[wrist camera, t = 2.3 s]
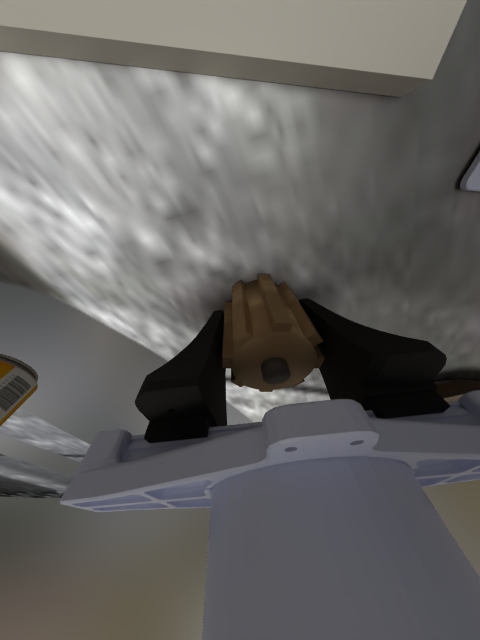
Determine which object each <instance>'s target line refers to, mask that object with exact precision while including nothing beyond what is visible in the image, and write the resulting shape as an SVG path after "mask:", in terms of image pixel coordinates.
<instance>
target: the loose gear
mask: <svg viewBox="0 0 480 640" xmlns="http://www.w3.org/2000/svg"><path fill="white" fill-rule="evenodd" d="M321 342H323V340H322V338H321V337H320V335H319V333H318V332H317V330H316V329H315V327H314V325H313V324H312V322H311V321H310V319H309V317H308V316H307V314H306V313H305V311H304V309H303V308H302V306H301V305H300V303H299V301H298V300H297V298H296V297H295V295H294V293H293V292H292V290H291V289H290V287H289V286H288V285H287V284H286V282H284V283H283V284H282V285H280V286H278V285H277V284H275V283H274V282H273V281H272V279H271V277H270V275H268V274H258V280H255V281H251V282H249V283H247V284H245V285H244V284H243V283H242V282H241V281H239V282H238V283H237V284H236V285H234V286H233V287H232V302H225V313H224V334H223V355H222V368H231V382H233V383H234V384H236V385H238V386H239V387H242V386H244V385H245V386H248V387H250V388H254V389H259V391H260V392H272V391H273V390H276V389H281V388H285V387H289V386H291V385H292V386H293V387H294V386H296V385H298V384H300V383H302V382H304V381H305V380H304V378H305V377H307V376H308V375H309V374H310V373H311V371H312V370H313V369H314V368H320V367H321V365H322V363H323V361H324V359H325V358H324V356H323V354H322V353H321V351H320V349H319V347H318V346H317V345H318V344H320V343H321Z"/></svg>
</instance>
